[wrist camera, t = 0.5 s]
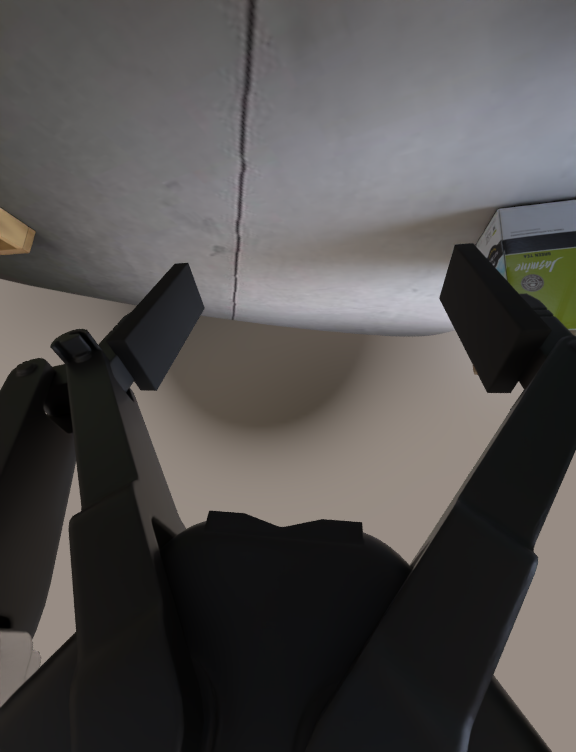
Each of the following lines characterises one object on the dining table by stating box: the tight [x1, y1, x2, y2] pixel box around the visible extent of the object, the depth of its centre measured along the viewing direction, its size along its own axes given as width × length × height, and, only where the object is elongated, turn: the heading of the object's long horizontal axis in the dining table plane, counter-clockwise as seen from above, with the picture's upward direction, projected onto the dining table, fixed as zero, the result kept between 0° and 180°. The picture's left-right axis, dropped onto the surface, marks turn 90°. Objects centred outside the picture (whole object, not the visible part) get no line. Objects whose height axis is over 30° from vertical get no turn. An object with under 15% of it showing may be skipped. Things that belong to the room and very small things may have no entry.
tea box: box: [473, 200, 576, 375], centre depth 29 cm, size 15×10×15 cm, turn 103°
